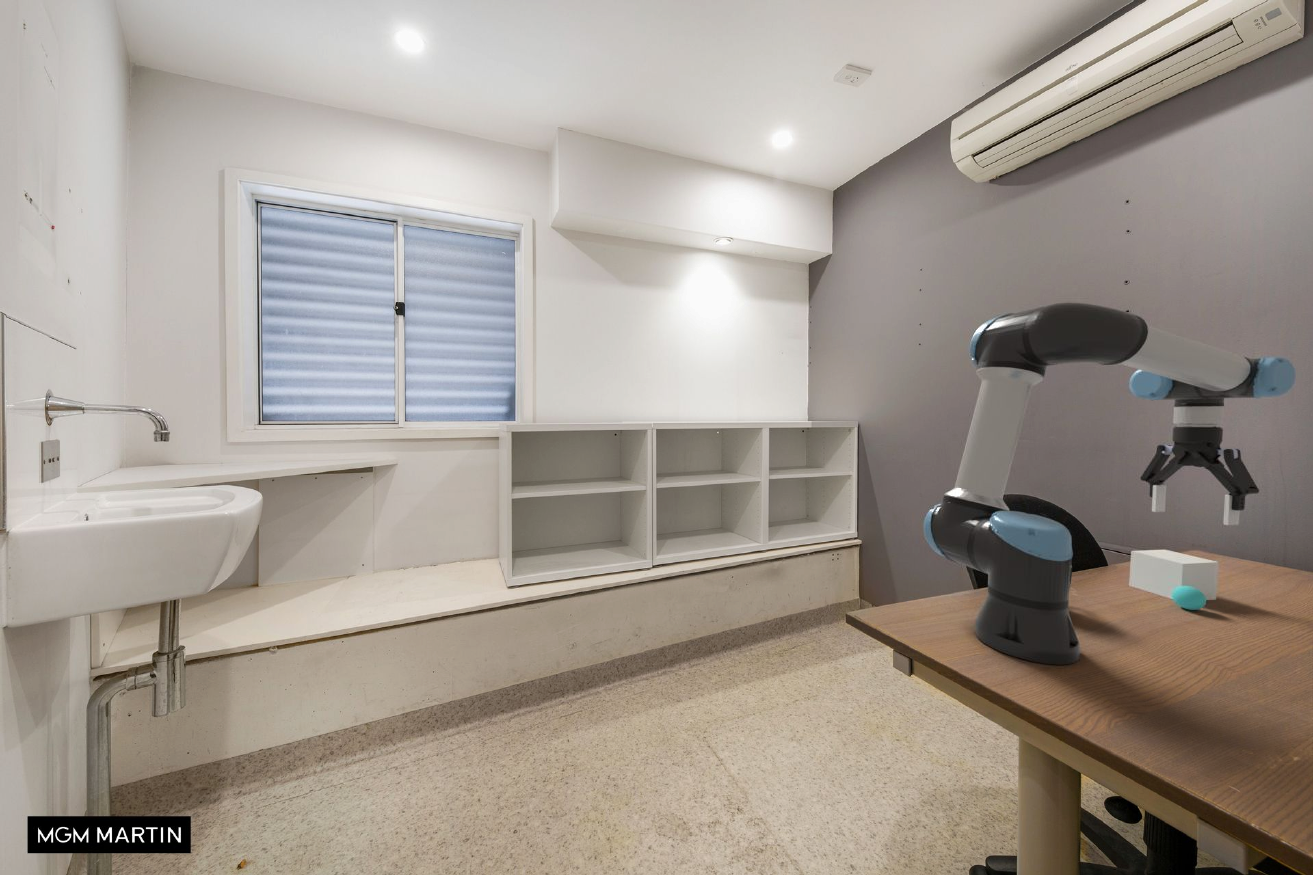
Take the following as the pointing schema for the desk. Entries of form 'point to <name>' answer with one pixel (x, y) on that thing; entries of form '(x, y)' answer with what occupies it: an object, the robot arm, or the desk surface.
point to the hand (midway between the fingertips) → (1192, 517)
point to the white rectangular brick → (1172, 572)
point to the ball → (1188, 597)
